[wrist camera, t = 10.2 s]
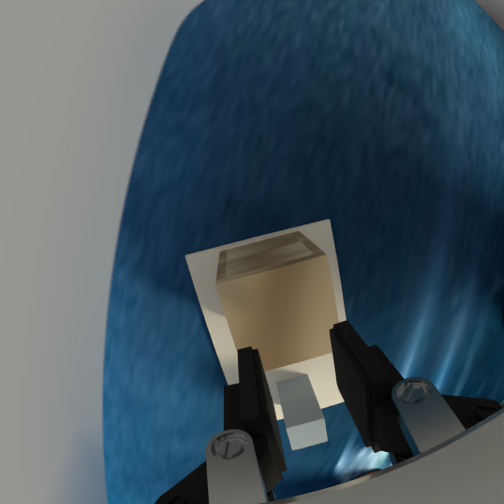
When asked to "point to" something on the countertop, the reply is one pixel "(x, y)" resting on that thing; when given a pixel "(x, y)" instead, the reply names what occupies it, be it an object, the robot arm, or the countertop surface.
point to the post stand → (288, 377)
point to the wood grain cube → (278, 298)
